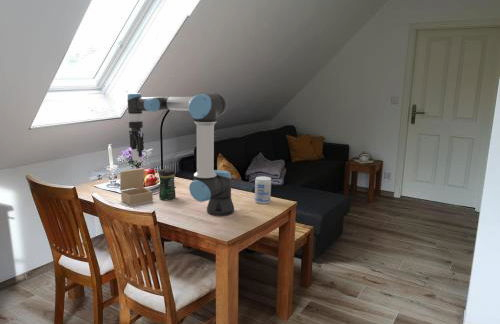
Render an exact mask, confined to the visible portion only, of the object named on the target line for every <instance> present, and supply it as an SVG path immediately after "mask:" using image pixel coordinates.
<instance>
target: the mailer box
mask: <svg viewBox="0 0 500 324" xmlns="http://www.w3.org/2000/svg"><path fill="white" fill-rule="evenodd" d="M120 194H121V195H120V196H121V197H120V198H121V202H122V203H125V204H126V205H127V206H130V207H133V206H137V205H141V204H147V203H152V202H153V200H154V199H153V197H154V195H153V191H151V190H150V189H148V188H145V186H143V187H138V188H132V189H127V190H121V191H120Z"/></svg>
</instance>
